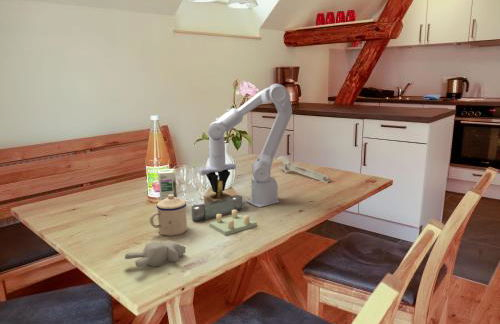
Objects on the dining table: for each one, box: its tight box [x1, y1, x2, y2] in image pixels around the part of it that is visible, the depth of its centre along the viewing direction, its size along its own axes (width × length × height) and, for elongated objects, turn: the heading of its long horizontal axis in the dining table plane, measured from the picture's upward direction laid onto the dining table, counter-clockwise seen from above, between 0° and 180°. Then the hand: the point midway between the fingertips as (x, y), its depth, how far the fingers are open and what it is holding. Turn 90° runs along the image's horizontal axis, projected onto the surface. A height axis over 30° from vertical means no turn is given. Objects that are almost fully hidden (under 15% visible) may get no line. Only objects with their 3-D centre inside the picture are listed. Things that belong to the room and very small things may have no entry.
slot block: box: [203, 191, 232, 204], centre depth 149 cm, size 8×8×3 cm
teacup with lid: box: [149, 194, 188, 236], centre depth 123 cm, size 12×9×12 cm
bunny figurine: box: [124, 240, 187, 268], centre depth 105 cm, size 10×5×15 cm
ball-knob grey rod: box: [191, 194, 244, 223], centre depth 138 cm, size 20×4×5 cm, turn 127°
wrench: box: [276, 155, 331, 184], centre depth 183 cm, size 8×2×30 cm
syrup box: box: [157, 168, 178, 201], centre depth 143 cm, size 6×6×14 cm
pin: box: [215, 178, 224, 197], centre depth 147 cm, size 3×3×6 cm
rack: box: [209, 210, 258, 236], centre depth 128 cm, size 12×9×4 cm
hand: (218, 190), depth 148 cm, fingers closed on pin, 3 cm apart
